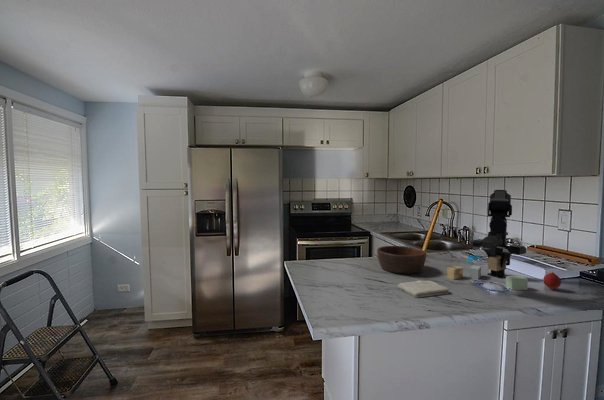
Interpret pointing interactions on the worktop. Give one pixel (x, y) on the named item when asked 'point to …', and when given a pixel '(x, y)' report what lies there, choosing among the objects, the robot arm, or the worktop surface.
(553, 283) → the red rounded lump
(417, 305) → the worktop surface
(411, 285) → the washcloth
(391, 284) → the worktop surface
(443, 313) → the worktop surface
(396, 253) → the wooden bowl
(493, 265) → the walnut brick
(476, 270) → the grey brick
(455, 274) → the oak brick
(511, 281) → the sage brick
